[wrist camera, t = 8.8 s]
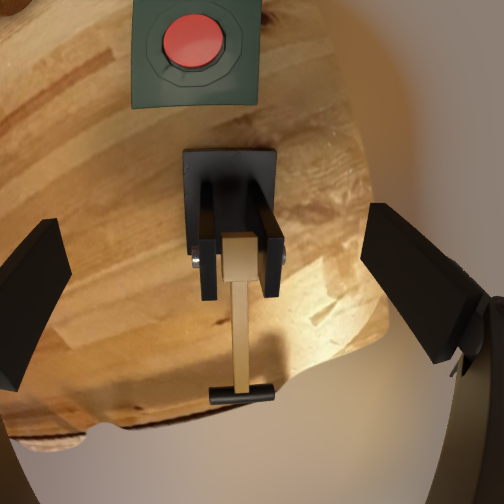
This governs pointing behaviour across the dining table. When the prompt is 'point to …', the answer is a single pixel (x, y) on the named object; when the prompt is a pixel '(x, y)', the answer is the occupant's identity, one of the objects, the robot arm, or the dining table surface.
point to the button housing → (202, 78)
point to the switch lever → (240, 318)
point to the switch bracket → (232, 210)
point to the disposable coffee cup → (12, 6)
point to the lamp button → (193, 40)
